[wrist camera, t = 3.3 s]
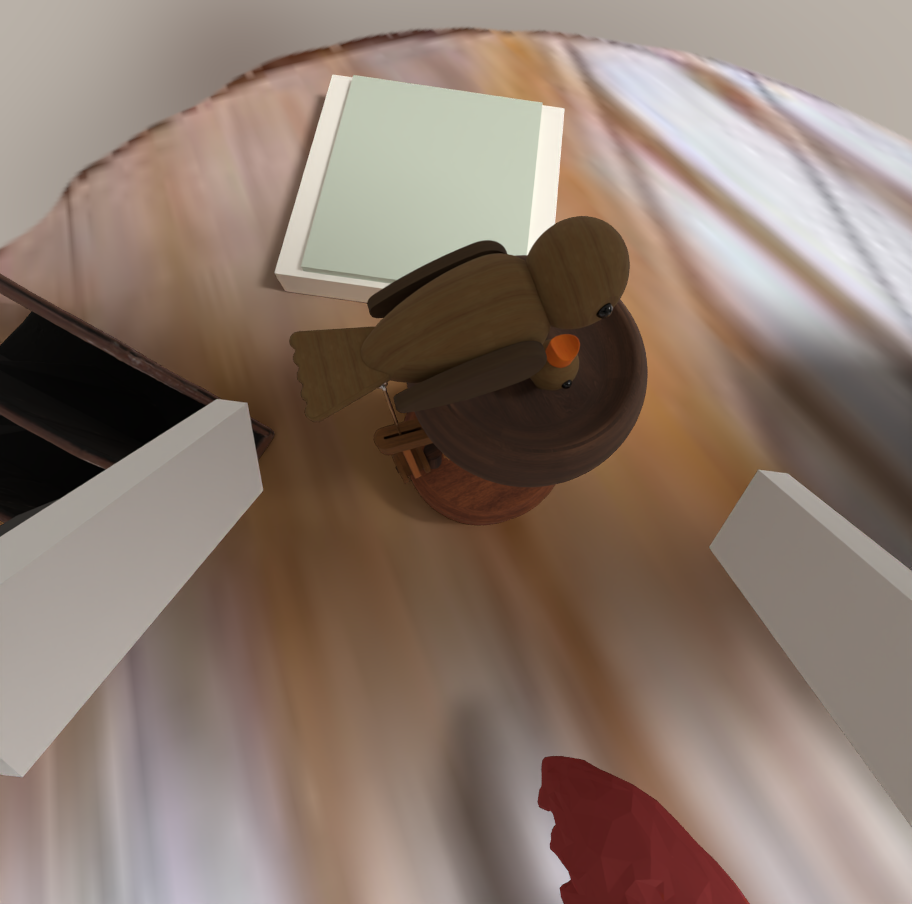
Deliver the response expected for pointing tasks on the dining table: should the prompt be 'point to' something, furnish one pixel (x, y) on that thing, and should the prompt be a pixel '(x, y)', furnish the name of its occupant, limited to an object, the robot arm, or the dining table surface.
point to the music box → (494, 369)
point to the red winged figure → (624, 843)
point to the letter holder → (79, 404)
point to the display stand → (416, 183)
